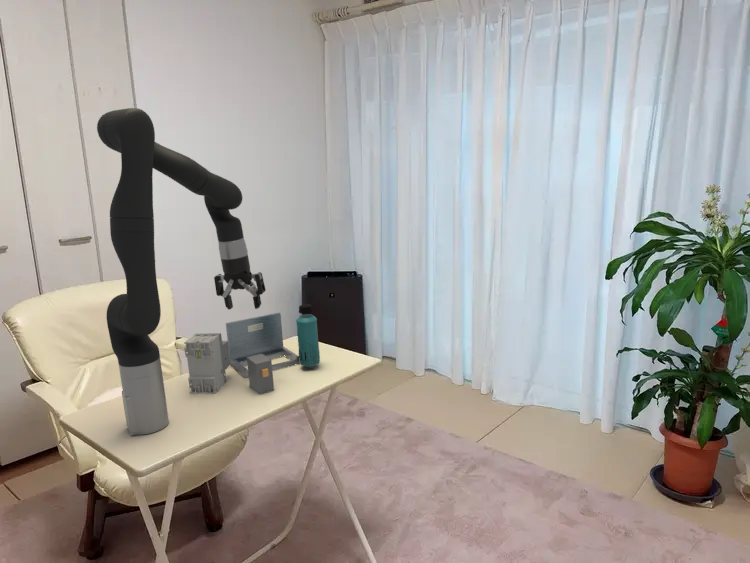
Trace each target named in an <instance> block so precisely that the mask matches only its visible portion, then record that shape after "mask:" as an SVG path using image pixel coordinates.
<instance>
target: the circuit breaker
mask: <svg viewBox="0 0 750 563" xmlns="http://www.w3.org/2000/svg"><path fill="white" fill-rule="evenodd" d="M183 344H184V345H185V347H184V355H185V358H186V359H187V367H188V375H189V376H188V378H187V380H188V388H189V389H190V392H189V394H195V395H196V394H197V395H198V394H201V395H202V394H206V395H207V394H209V395H211V394H214V395H215V394H217V392H219V391H220V389H222V387H223V386H225V384H226V383H227V375H226V370H227V369H228V368H229V367H230V355H229V346H228V340H222V333H221V332H220V333H219V332H218V333H217V332H216V333H214V332H213V333H195V334H194V335H192V336H191V337H189V338H188V339H186V341H184V342H183Z"/></svg>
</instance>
